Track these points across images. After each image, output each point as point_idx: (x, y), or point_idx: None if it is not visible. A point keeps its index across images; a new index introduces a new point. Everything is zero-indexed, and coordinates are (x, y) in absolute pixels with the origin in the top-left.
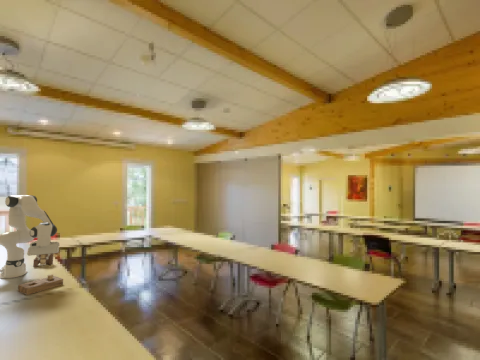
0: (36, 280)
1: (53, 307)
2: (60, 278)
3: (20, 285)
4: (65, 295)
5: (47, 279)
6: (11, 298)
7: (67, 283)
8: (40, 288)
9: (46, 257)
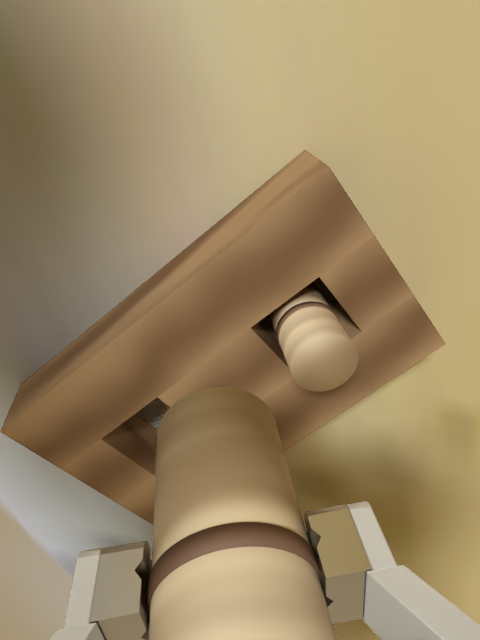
0: (146, 324)
1: (361, 631)
2: (418, 326)
3: (34, 447)
4: (420, 528)
5: (281, 348)
6: (65, 516)
7: (455, 295)
8: None
9: (343, 616)
